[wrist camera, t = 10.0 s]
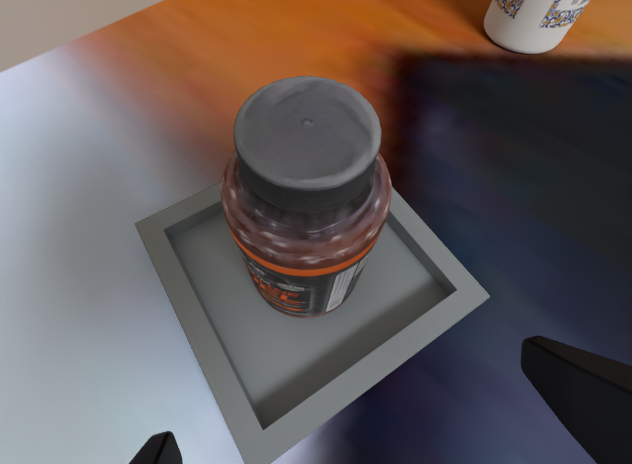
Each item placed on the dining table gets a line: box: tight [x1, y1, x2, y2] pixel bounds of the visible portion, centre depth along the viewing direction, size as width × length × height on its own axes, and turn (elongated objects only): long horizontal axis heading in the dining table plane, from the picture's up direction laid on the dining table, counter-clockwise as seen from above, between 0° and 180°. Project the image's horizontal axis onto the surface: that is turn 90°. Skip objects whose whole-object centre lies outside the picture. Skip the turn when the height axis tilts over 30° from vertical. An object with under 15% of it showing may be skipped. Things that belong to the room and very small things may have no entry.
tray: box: [135, 182, 490, 464], centre depth 19 cm, size 14×14×2 cm
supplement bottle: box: [220, 76, 392, 318], centre depth 14 cm, size 6×6×11 cm
